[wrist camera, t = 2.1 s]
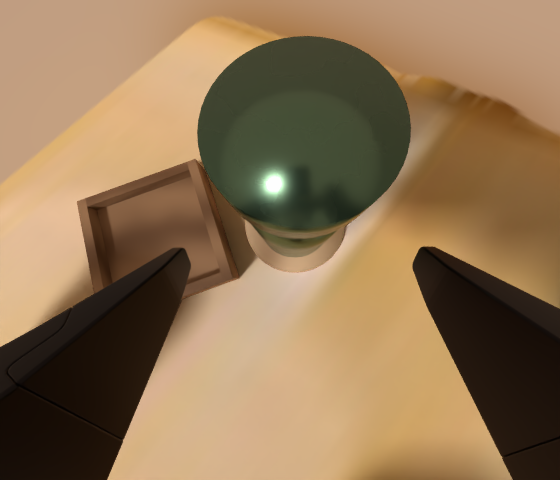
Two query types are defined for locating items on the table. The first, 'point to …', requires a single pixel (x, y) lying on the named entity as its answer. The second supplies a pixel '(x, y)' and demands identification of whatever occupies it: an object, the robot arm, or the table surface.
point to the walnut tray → (157, 228)
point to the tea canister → (303, 138)
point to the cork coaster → (293, 262)
